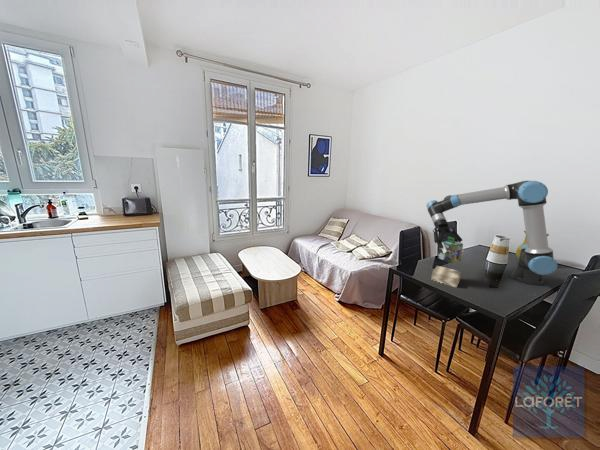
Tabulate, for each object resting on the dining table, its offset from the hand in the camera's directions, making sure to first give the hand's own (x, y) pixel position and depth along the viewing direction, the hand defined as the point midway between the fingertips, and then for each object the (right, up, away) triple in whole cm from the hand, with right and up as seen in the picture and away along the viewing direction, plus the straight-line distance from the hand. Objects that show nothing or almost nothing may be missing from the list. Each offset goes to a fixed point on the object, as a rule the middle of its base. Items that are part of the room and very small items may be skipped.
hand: (453, 252), depth 147 cm
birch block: (-1, -19, +7) cm, 20 cm away
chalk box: (-1, -5, +4) cm, 7 cm away
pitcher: (+84, -13, +40) cm, 94 cm away
